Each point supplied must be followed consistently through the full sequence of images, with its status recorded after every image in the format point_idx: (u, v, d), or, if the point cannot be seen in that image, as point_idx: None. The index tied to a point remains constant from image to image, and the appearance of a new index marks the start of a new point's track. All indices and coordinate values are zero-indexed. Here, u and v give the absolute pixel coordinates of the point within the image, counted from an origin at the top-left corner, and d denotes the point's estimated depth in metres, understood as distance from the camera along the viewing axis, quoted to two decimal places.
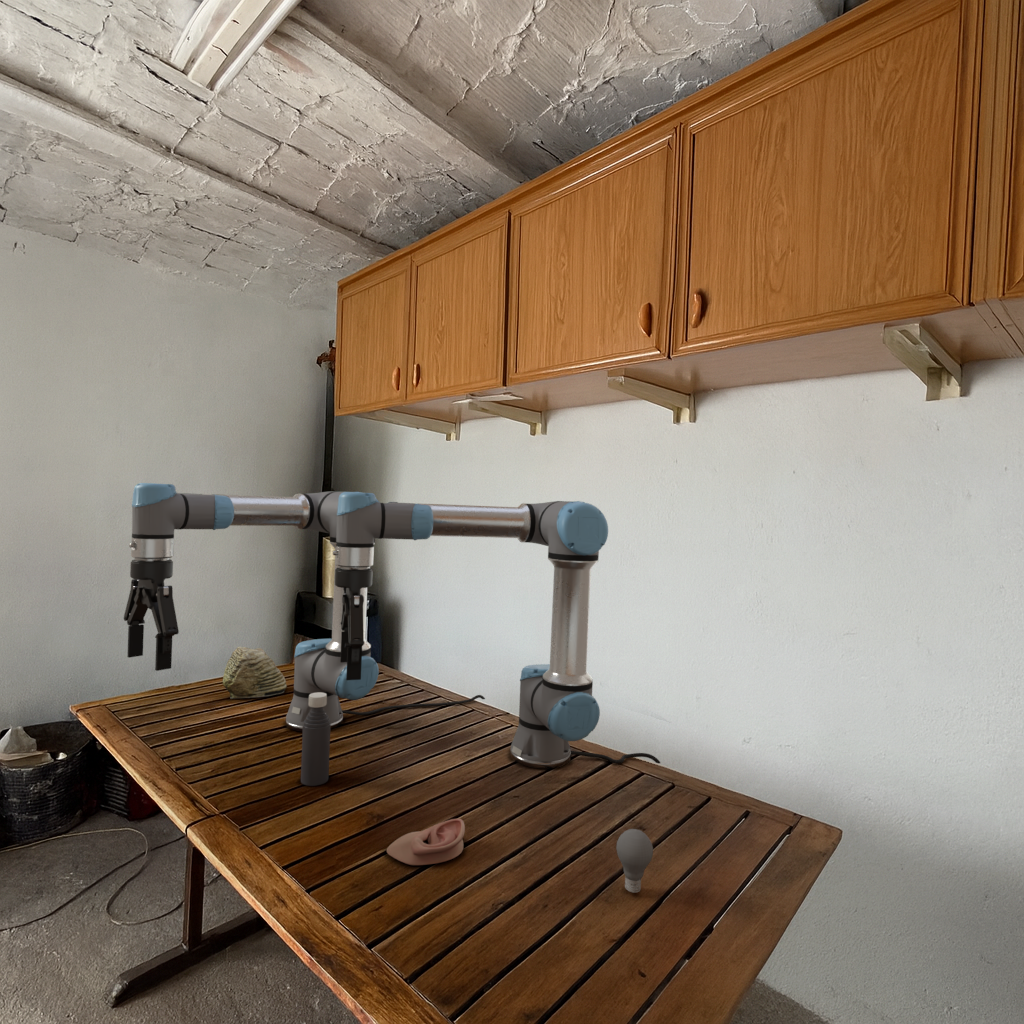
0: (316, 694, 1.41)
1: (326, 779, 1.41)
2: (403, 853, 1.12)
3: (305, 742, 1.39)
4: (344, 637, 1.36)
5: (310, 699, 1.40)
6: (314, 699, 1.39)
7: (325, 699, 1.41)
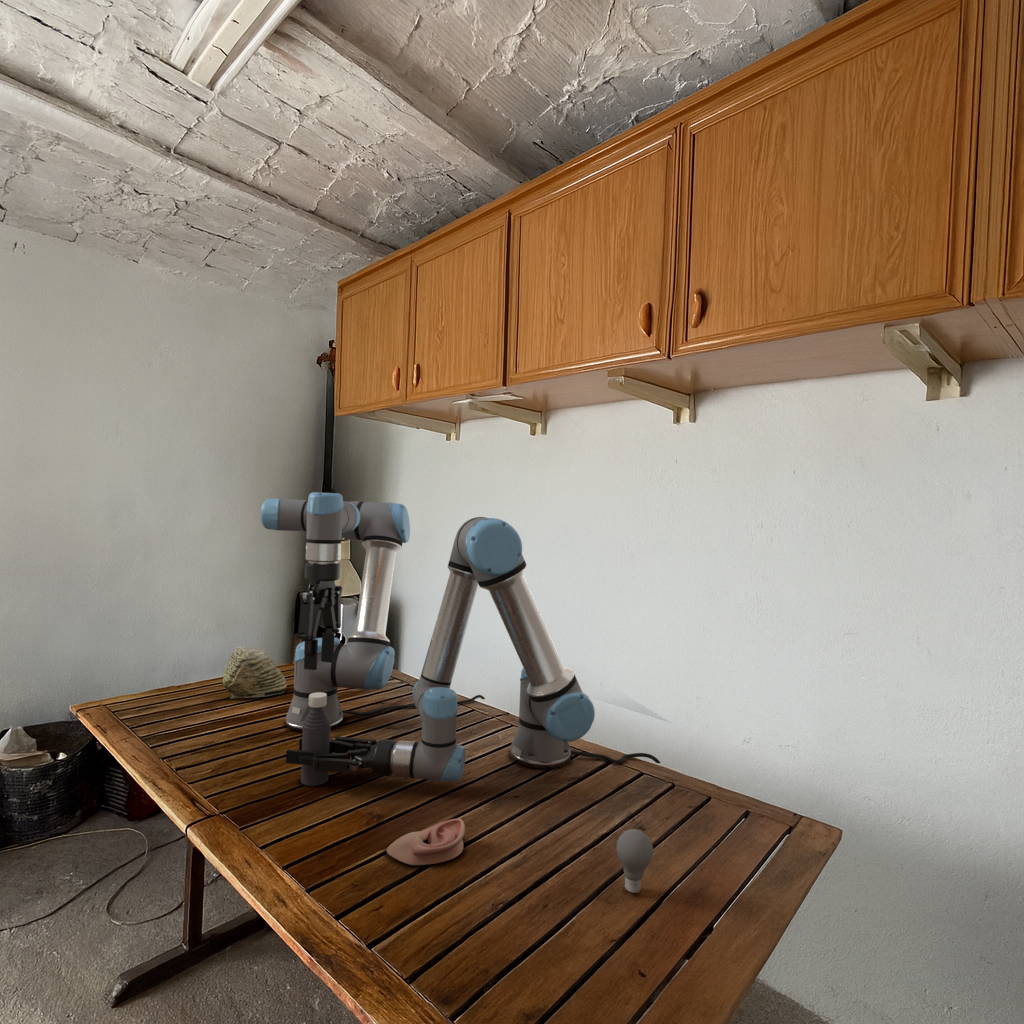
0: (316, 694, 1.41)
1: (326, 779, 1.41)
2: (403, 853, 1.12)
3: (305, 742, 1.39)
4: None
5: (310, 699, 1.40)
6: (314, 699, 1.39)
7: (325, 699, 1.41)
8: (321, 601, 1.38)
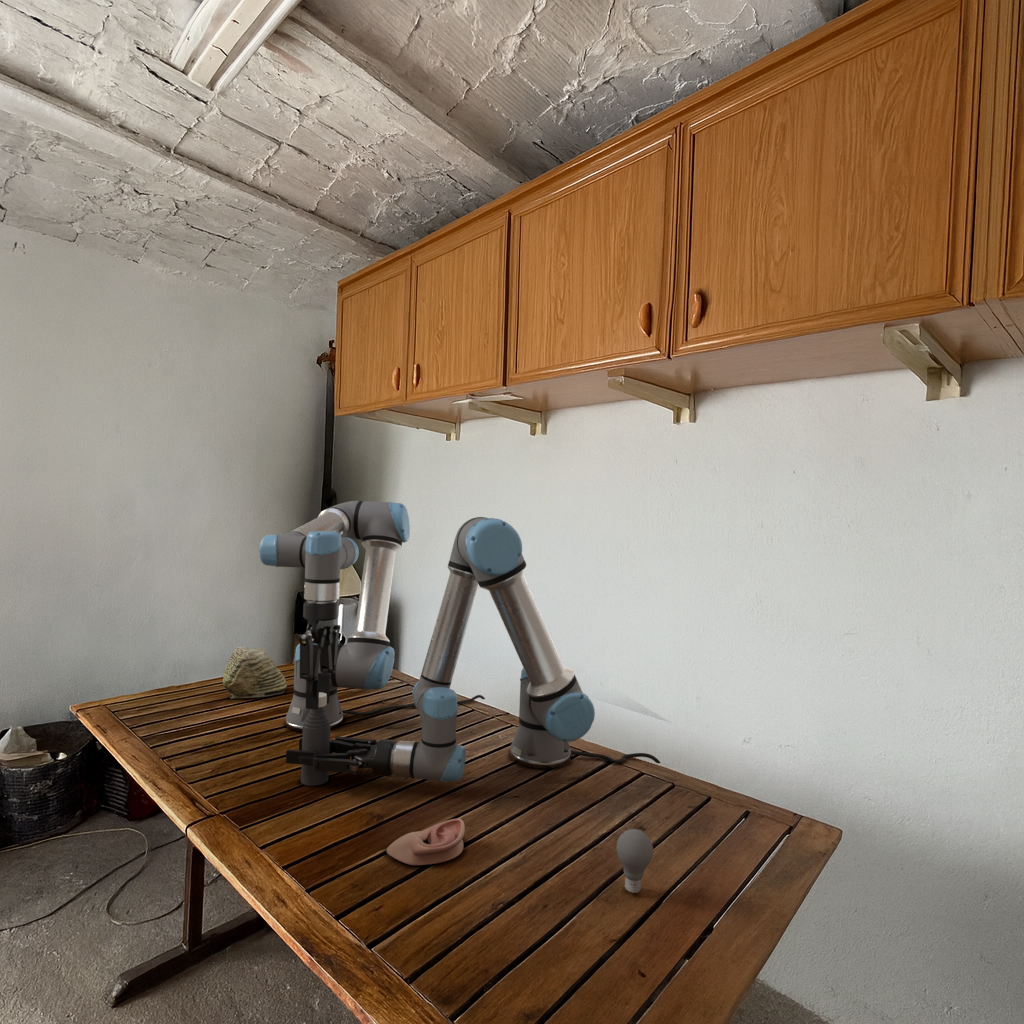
0: None
1: (326, 779, 1.41)
2: (403, 853, 1.12)
3: (305, 742, 1.39)
4: None
5: None
6: None
7: (325, 699, 1.41)
8: (320, 641, 1.38)
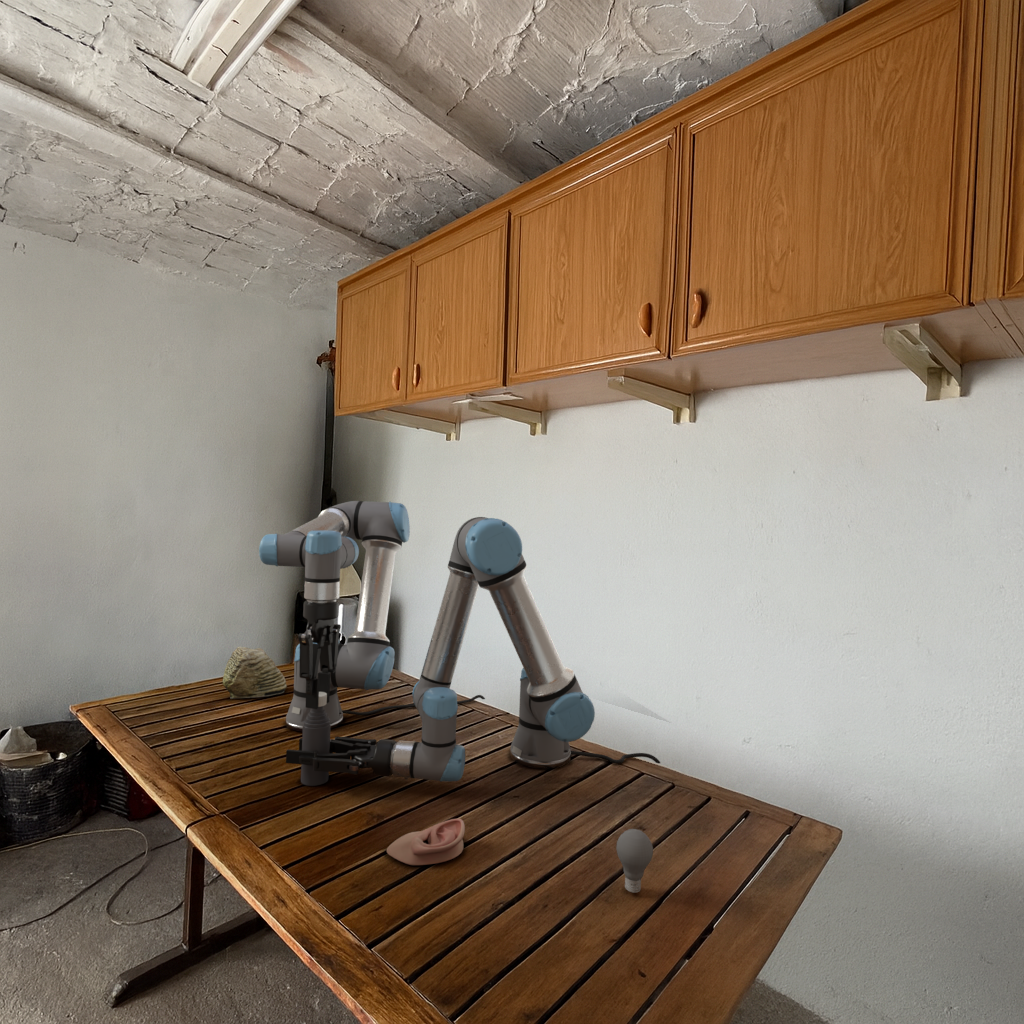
0: None
1: (326, 779, 1.41)
2: (403, 853, 1.12)
3: (305, 742, 1.39)
4: None
5: (326, 696, 1.41)
6: None
7: None
8: (320, 640, 1.38)
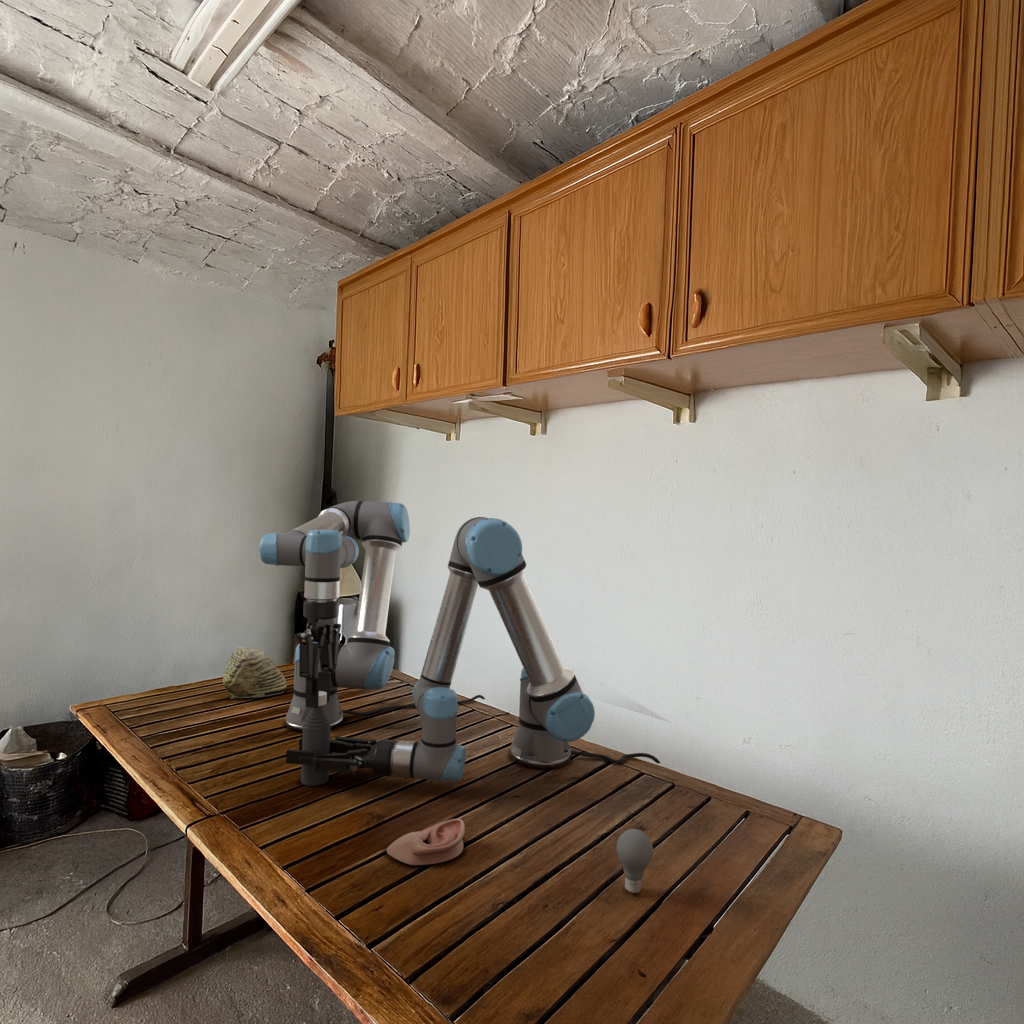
0: (319, 693, 1.42)
1: (326, 779, 1.41)
2: (403, 853, 1.12)
3: (305, 742, 1.39)
4: None
5: None
6: None
7: None
8: (320, 640, 1.38)
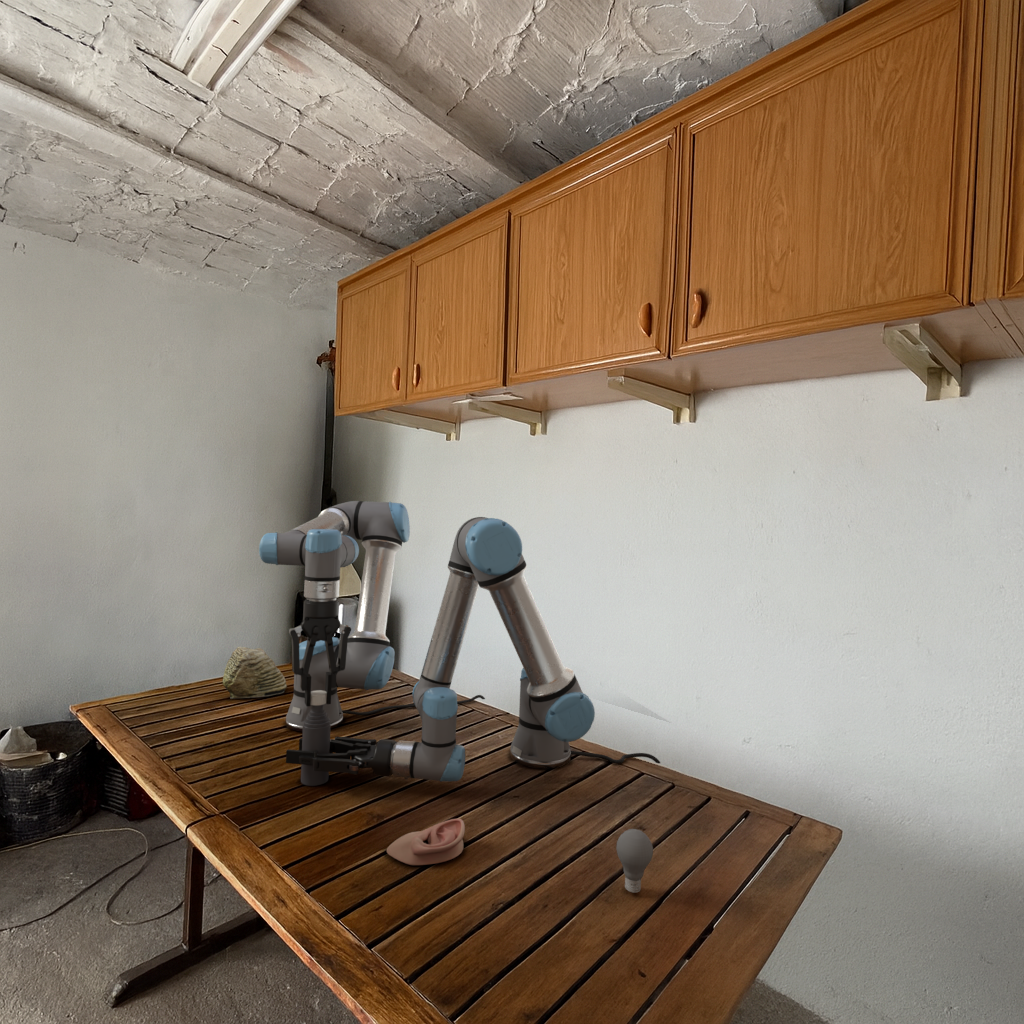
0: (315, 692, 1.41)
1: (326, 779, 1.41)
2: (403, 853, 1.12)
3: (305, 742, 1.39)
4: None
5: (316, 698, 1.39)
6: (321, 697, 1.40)
7: None
8: None
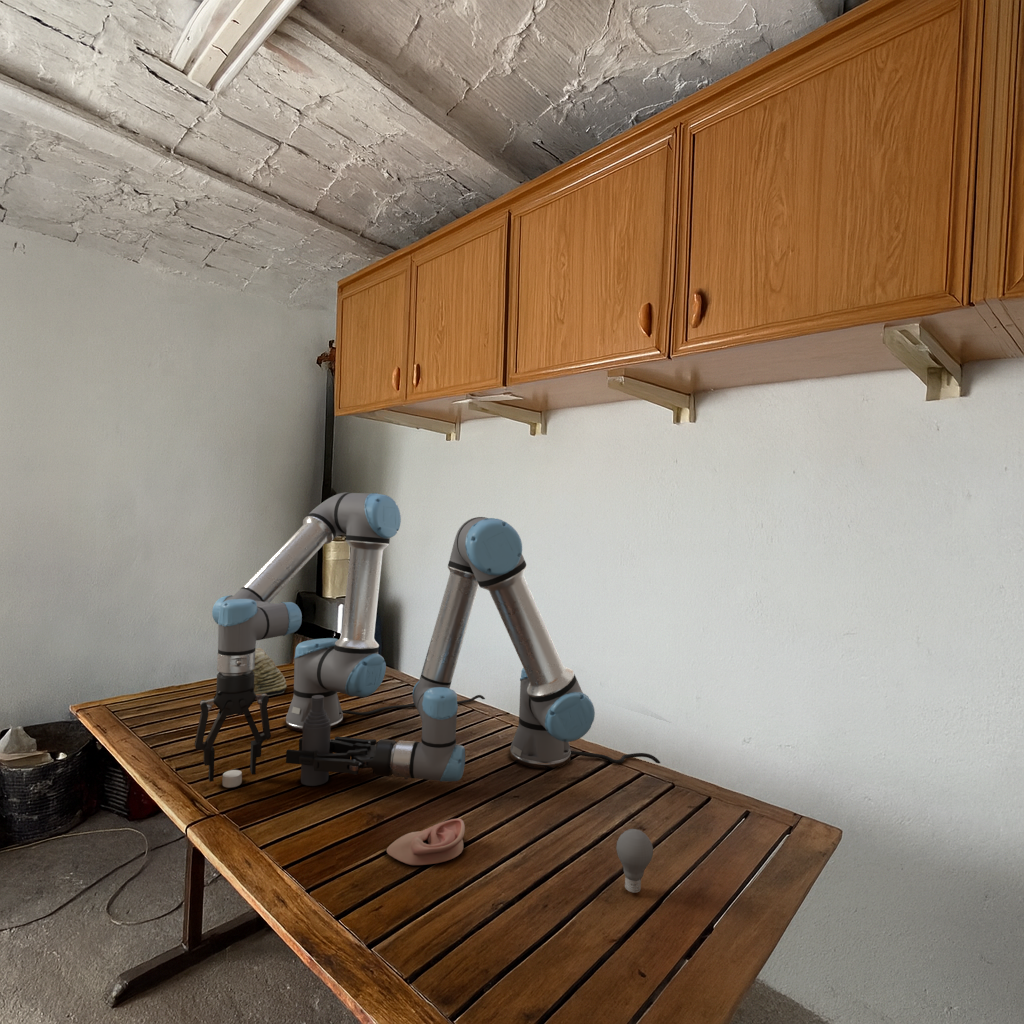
0: (230, 773, 1.38)
1: (326, 779, 1.41)
2: (403, 853, 1.12)
3: (305, 742, 1.39)
4: None
5: (230, 780, 1.36)
6: (235, 778, 1.37)
7: None
8: None
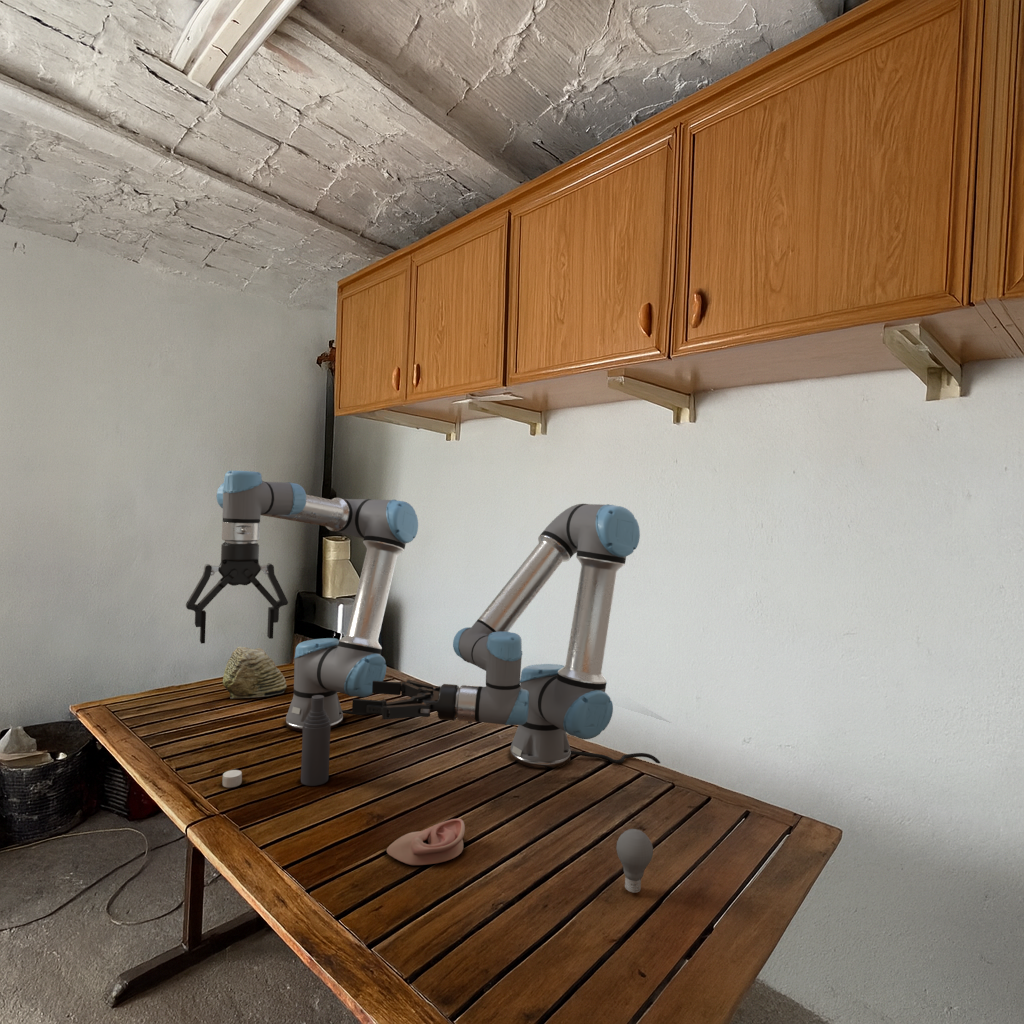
0: (230, 773, 1.38)
1: (326, 779, 1.41)
2: (403, 853, 1.12)
3: (305, 742, 1.39)
4: None
5: (230, 780, 1.36)
6: (235, 778, 1.37)
7: None
8: None
